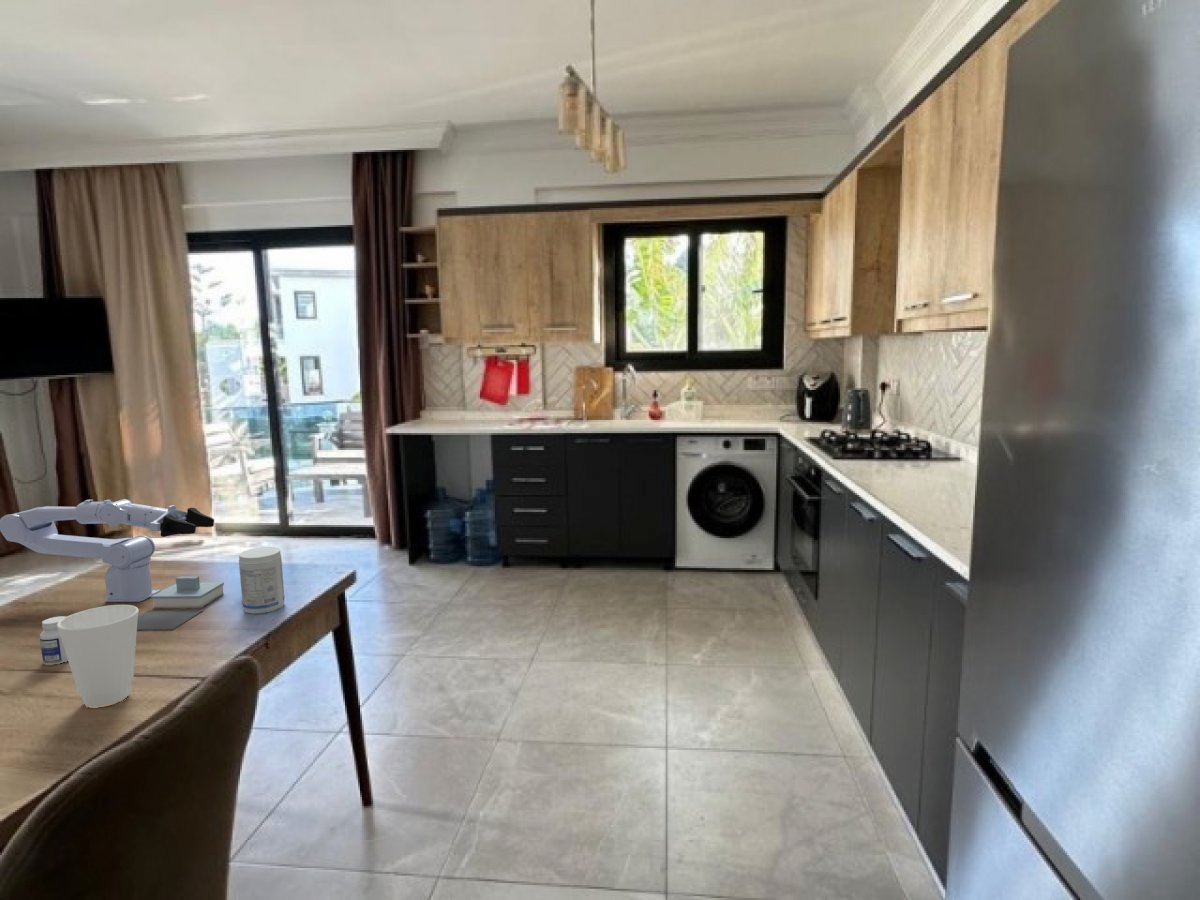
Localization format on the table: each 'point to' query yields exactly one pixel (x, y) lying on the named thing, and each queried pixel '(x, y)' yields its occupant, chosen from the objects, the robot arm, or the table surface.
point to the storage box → (188, 601)
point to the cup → (101, 651)
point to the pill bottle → (52, 642)
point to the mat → (164, 619)
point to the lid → (187, 588)
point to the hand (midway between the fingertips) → (204, 526)
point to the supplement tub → (261, 580)
